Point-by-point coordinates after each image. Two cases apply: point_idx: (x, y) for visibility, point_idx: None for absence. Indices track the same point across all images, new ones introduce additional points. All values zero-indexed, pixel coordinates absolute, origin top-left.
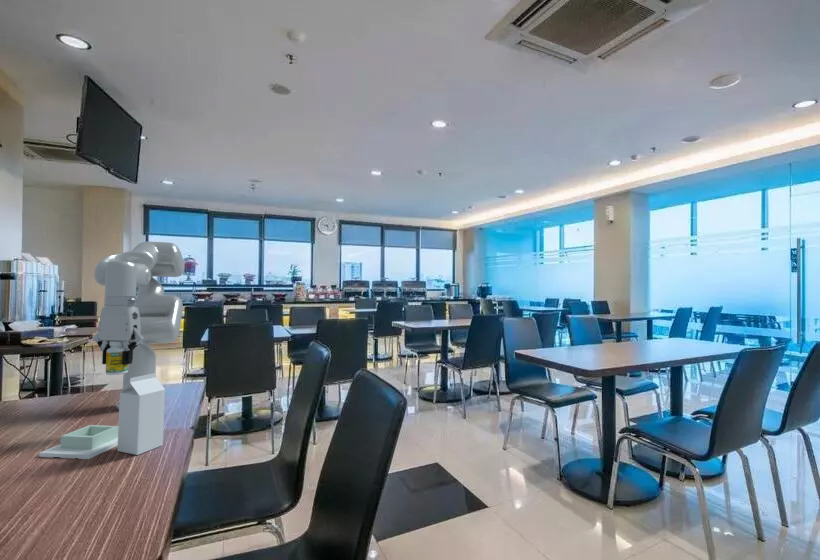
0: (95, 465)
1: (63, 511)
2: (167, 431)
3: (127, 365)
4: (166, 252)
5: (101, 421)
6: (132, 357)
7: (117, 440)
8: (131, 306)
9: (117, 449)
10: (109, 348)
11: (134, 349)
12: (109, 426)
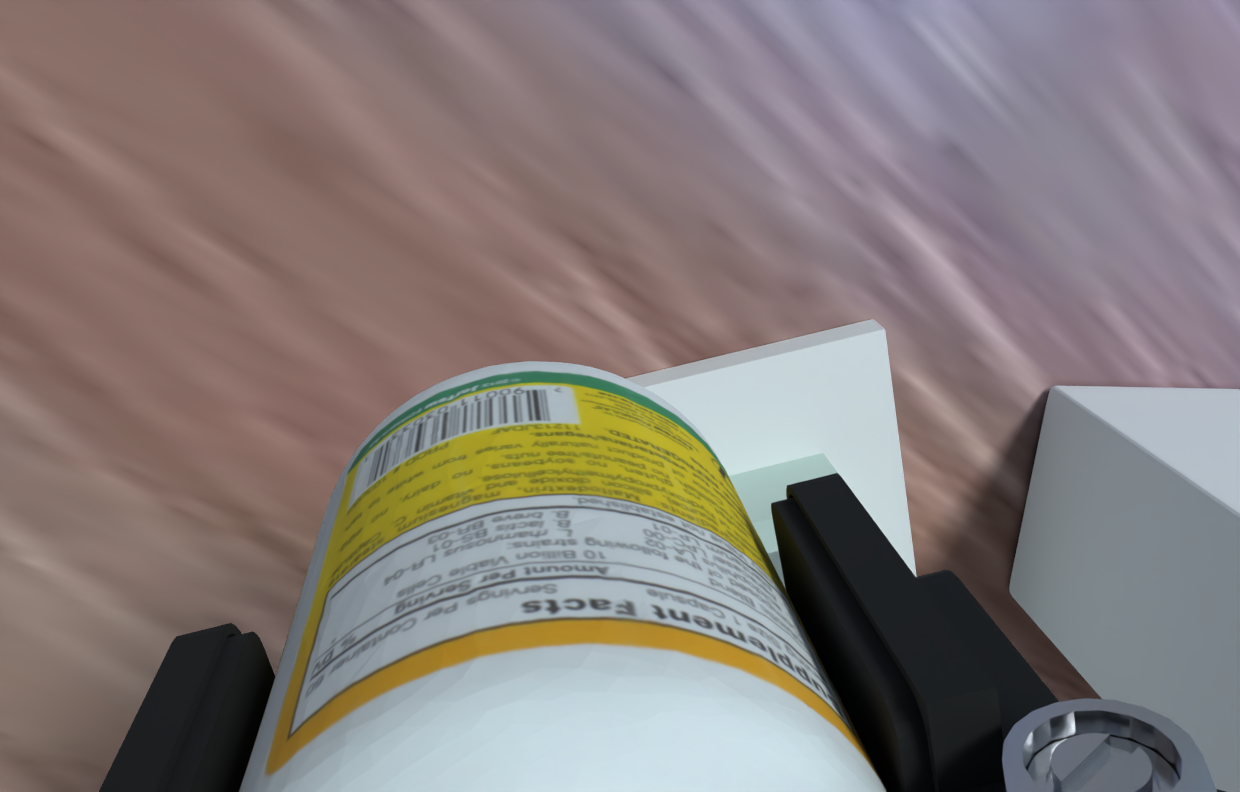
0: None
1: None
2: (1054, 90)
3: (748, 521)
4: None
5: (13, 73)
6: (978, 611)
7: (884, 508)
8: None
9: (1017, 601)
10: None
11: (1115, 707)
12: (771, 535)
